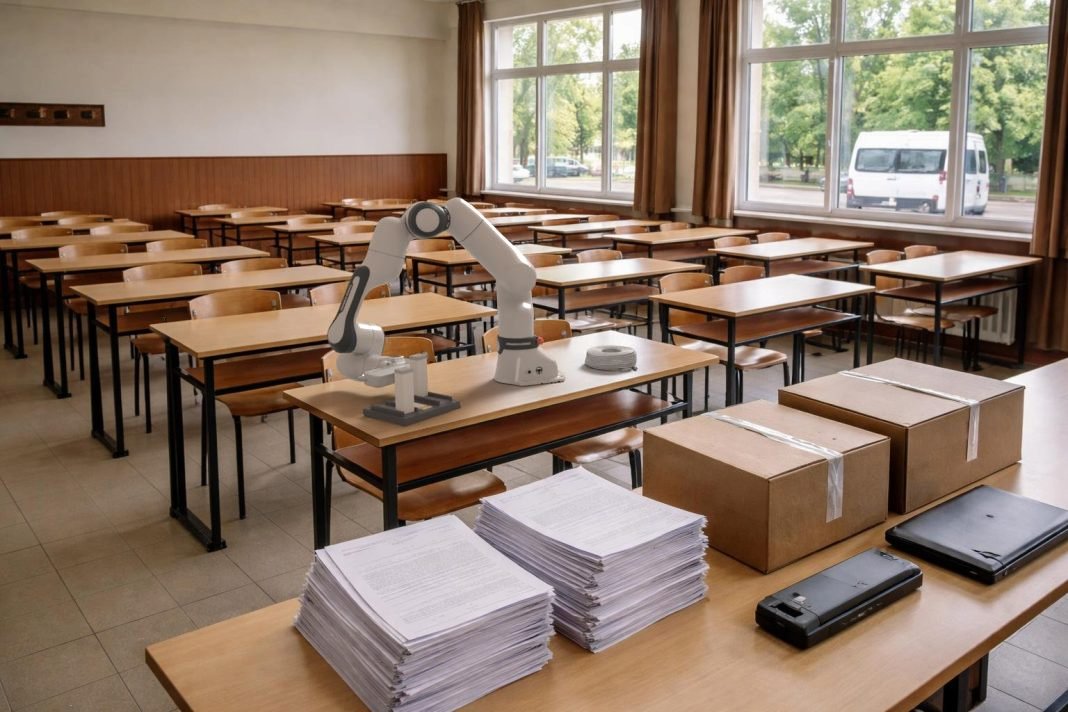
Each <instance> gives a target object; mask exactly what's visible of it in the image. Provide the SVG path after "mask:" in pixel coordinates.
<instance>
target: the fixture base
mask: <svg viewBox="0 0 1068 712" xmlns="http://www.w3.org/2000/svg"><path fill="white" fill-rule="evenodd" d="M460 408H461V400H459V399H458V400H457V399H453V396H452V395H449V394H448V395H447V394H442V393H438V392H434V391H433V392H432V391H428V396H425V397H421V396H417V395H414V411H413V412H410V413H407V414H404V412H403V411H398V410H396V402H395V399H391V400H384V402H382V403H378V404H371V405H370V406H369V407H365V408H362V411H363V413H362V414H363V415H362V416H363V417H366V416H367V418H370V419H375V420H379V421H382V420H383V421H382V422H386V421H387V422H386V423H390V422H391V424H394V423H395V425H398V424H399V426H403V427H408V426H411V425H413V424H417V423H420V422H423V421H426V420H428V418H429V419H431V418H434V417H438V416H439V415H443V414H446V413H448V412H452V411H455V410H457V409H460ZM425 419H426V420H425ZM422 420H423V421H422ZM419 421H420V422H419ZM416 422H417V423H416Z"/></svg>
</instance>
